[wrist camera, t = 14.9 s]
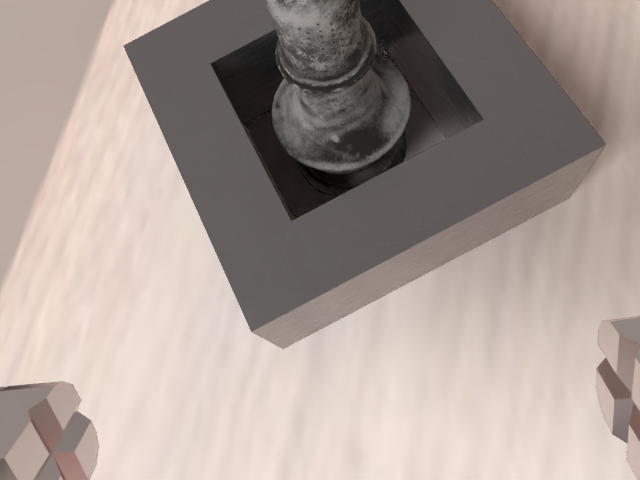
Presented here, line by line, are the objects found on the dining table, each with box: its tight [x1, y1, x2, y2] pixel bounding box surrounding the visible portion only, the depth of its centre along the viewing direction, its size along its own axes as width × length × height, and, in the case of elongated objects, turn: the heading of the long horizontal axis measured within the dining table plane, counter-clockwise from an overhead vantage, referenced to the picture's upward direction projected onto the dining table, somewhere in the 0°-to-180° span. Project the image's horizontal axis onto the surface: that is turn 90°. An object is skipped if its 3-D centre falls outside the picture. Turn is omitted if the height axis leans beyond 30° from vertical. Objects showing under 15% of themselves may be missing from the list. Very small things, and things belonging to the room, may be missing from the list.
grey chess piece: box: [266, 0, 411, 196], centre depth 21 cm, size 6×6×12 cm
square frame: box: [124, 0, 606, 349], centre depth 24 cm, size 14×14×5 cm
